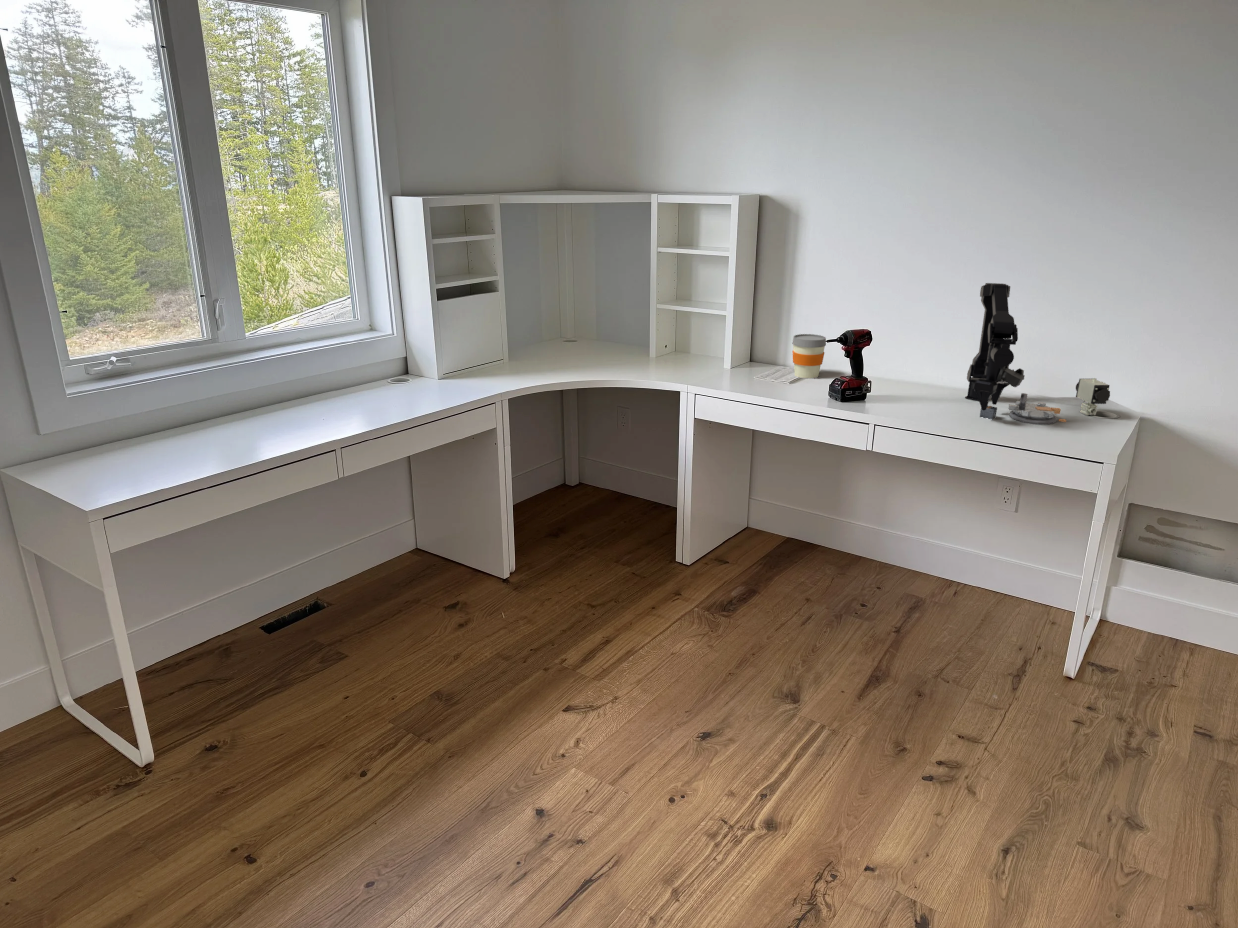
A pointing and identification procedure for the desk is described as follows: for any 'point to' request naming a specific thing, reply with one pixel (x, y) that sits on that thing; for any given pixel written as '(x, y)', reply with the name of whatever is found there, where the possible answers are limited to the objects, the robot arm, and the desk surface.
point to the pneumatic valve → (1092, 394)
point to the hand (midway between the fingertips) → (989, 407)
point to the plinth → (1034, 421)
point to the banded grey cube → (988, 412)
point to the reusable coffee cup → (808, 354)
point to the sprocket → (1033, 409)
